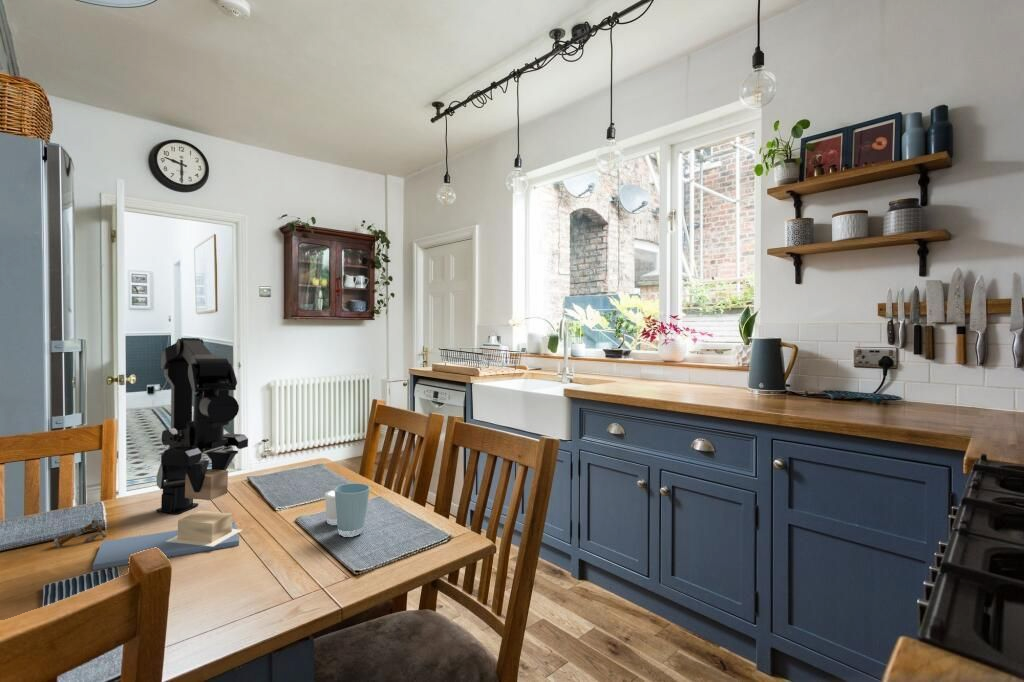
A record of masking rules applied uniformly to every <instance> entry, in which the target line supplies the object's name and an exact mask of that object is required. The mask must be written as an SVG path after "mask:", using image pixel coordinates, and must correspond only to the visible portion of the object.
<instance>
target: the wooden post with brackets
mask: <svg viewBox="0 0 1024 682" xmlns="http://www.w3.org/2000/svg"><path fill="white" fill-rule="evenodd" d="M103 521H104V520H103V518H97V519H92V520H91V522H90V523H89V524H87V525H86V526H82V527H81V528H79V529H77V530H75V531H73V533H70V534H68V535H66V536H63V537H61V538H58V537H55V538H54V541H53V542H54V544H55V546H56V547H57V548H58V549H60V548H62V545H64V544H65V543H68V542H69V541H70V540H72V539H73V538H75V537H76V538H77V537H78V536H80V535H82V534H84V533H86V532H87V531H89V530H92V531H96V532H98V533H96V534H95V535H94V534H91V536H88V537H86V539H84V541H83V542H84V543H90V542H92V541H96V538H98V537H100V536H101V538H102V537H103V539H104V538H106V537H107V534H106V532H105V531H104V530H103V529H102V528H101V526H100V525H101V523H103Z"/></svg>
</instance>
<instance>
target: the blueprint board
mask: <svg viewBox="0 0 1024 682" xmlns="http://www.w3.org/2000/svg"><path fill="white" fill-rule="evenodd" d="M240 532H243V529H237V526H236V521H232V532H230V533H229V534H227V535H225V536H223V537H221V538H220V539H218V540H216V541H214V542H212V543H210V542H200V541H191V540H181V539H177V537H178V529H177V530H169V531H165V532H164V531H163V532H155V533H149V534H143V535H136V536H129V537H122V538H117V539H115V538H114V539H109V540H103V541H102V542H101V544H100V545H99V549H98V551H97V554H96V557H95V558H94V561H93V564H92V571H97V570H103V569H107V568H108V567H109V568H113V567H119V566H120V567H121V566H125V565H129V564H128V562H129V557H130V555H131V554H134V553H137V552H140V551H143V550H147V549H151V548H154V547H157V548H159V549H160V550H161V551H162V552H163V553H164V554H165V555H166V556H167V558H172V557H178V556H184V555H191V554H195V553H202V552H208V551H213V550H219V549H224V548H231V547H236V546H240V538H239V534H238V533H240ZM171 556H172V557H171Z"/></svg>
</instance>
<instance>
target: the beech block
mask: <svg viewBox="0 0 1024 682" xmlns="http://www.w3.org/2000/svg"><path fill="white" fill-rule="evenodd" d="M232 522H233V513H231V512H229V513H228V512H219V511H209V510H208V511H206V510H198V511H195V512H194V513H191V514H189V515H186V516H184V517H183V518H180V519H178V520H177V530H178V537H177V539H181V540H191V541H200V542H210V543H212V542H214V541H216V540H218V539H220V538H221V537H223V536H225V535H227V534H229V533H230V532H232Z"/></svg>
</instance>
